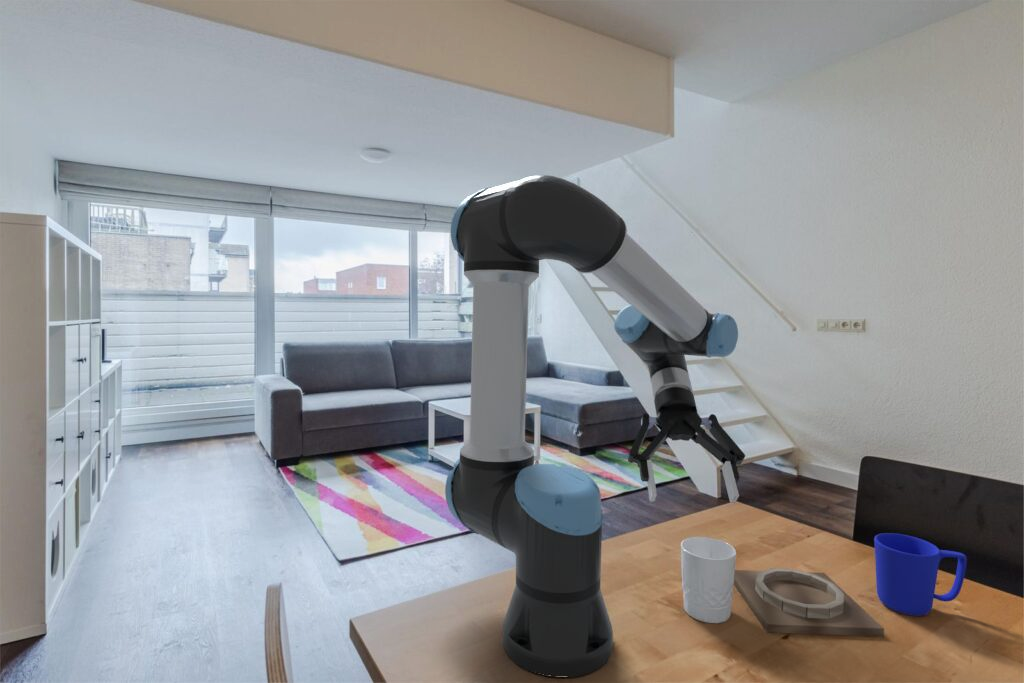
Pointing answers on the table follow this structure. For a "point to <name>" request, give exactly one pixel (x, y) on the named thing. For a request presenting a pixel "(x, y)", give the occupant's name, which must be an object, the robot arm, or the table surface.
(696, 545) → the white cup
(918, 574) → the mug
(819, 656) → the table surface
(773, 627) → the brown flat ringed piece
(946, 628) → the table surface
